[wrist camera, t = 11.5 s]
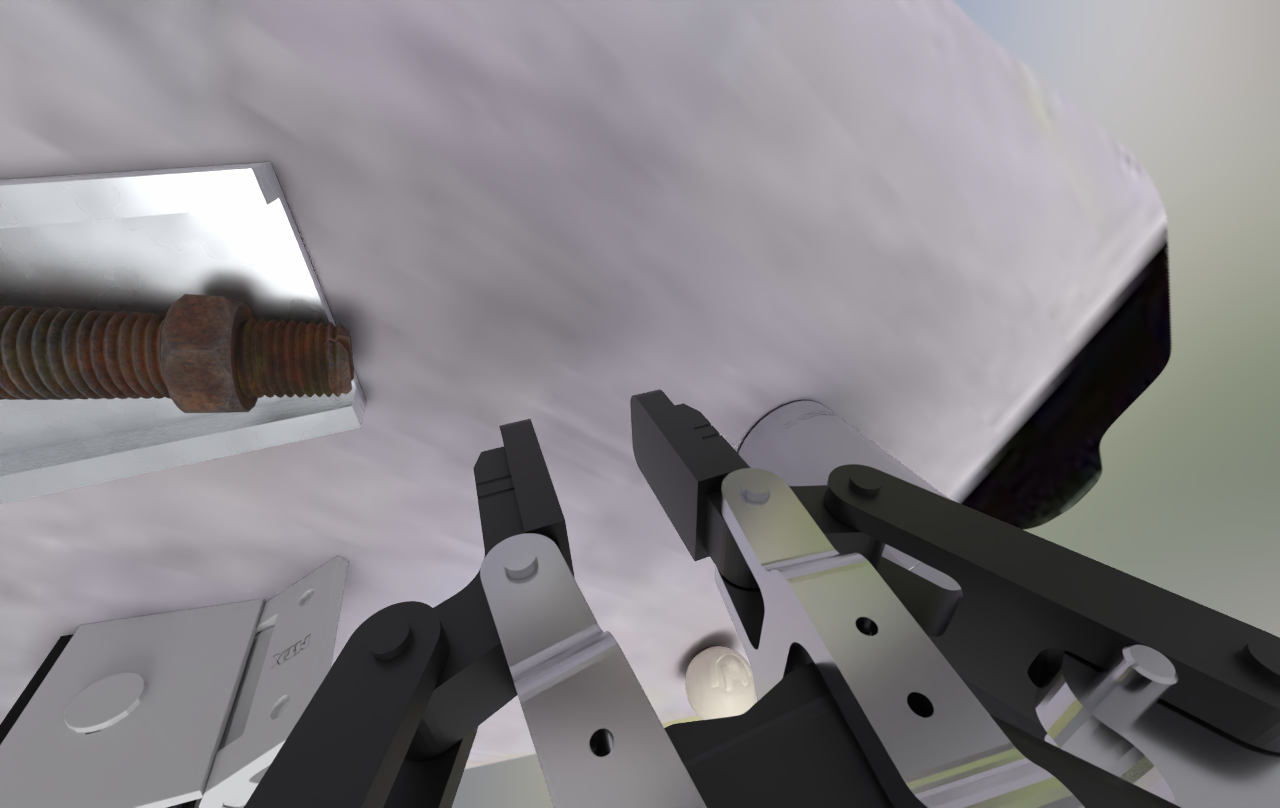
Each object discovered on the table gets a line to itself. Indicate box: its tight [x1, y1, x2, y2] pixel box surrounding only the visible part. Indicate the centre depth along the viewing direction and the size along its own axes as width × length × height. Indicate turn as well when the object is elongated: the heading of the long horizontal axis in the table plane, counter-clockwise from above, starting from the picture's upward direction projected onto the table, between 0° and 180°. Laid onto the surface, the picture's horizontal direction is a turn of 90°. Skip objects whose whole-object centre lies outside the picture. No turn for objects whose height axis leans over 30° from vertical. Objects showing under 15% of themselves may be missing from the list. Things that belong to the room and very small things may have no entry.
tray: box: [0, 162, 366, 504], centre depth 17 cm, size 11×19×4 cm, turn 92°
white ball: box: [685, 646, 756, 720], centre depth 48 cm, size 7×7×7 cm
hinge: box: [0, 556, 349, 808], centre depth 24 cm, size 14×5×10 cm, turn 91°
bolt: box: [0, 294, 354, 413], centre depth 17 cm, size 6×5×15 cm
